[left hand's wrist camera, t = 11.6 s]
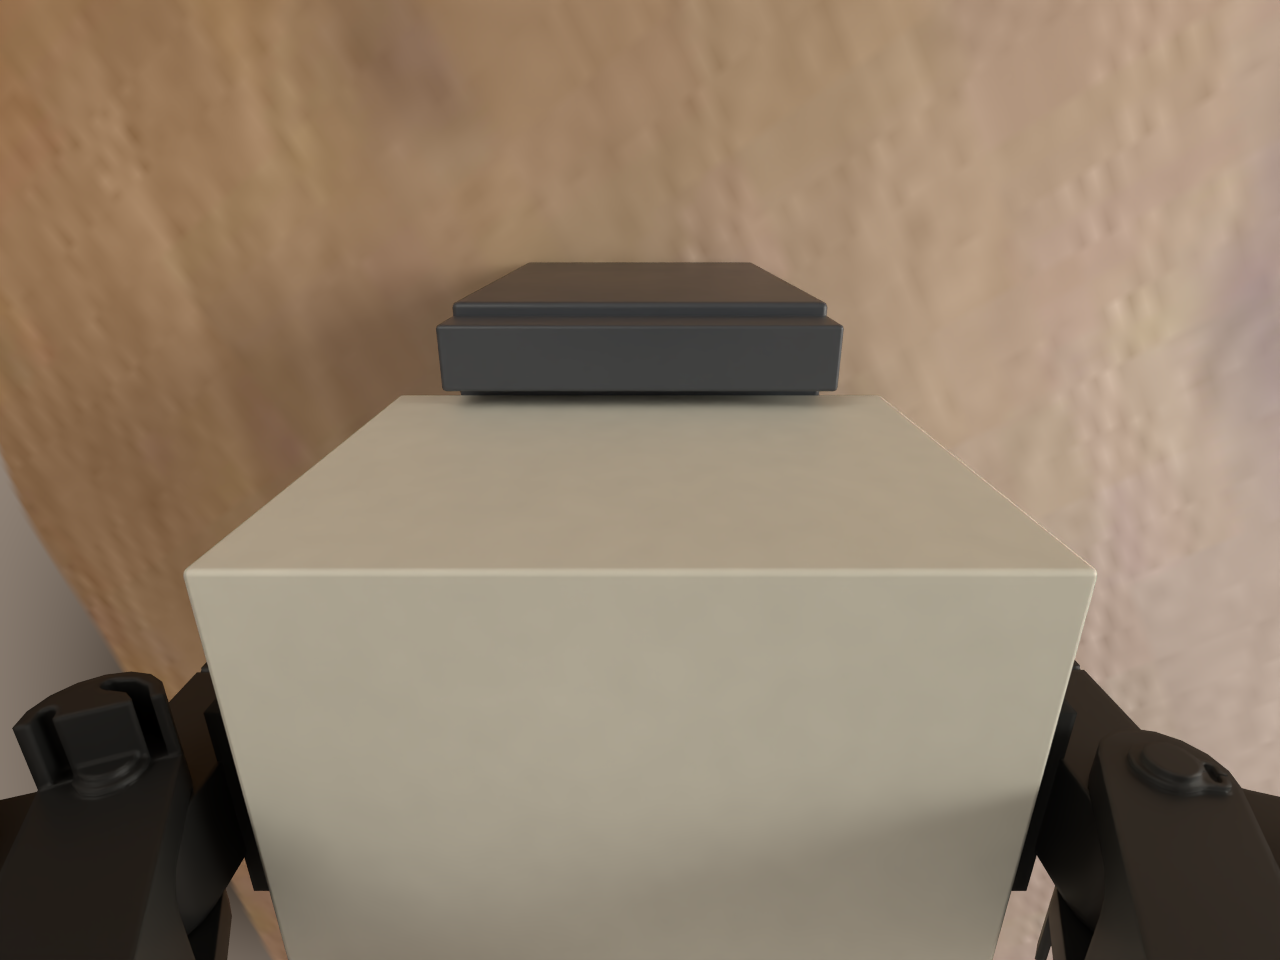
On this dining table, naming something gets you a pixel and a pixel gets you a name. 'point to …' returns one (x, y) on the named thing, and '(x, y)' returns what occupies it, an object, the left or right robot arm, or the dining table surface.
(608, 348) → the grey long block
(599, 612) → the cap block
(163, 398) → the dining table surface
